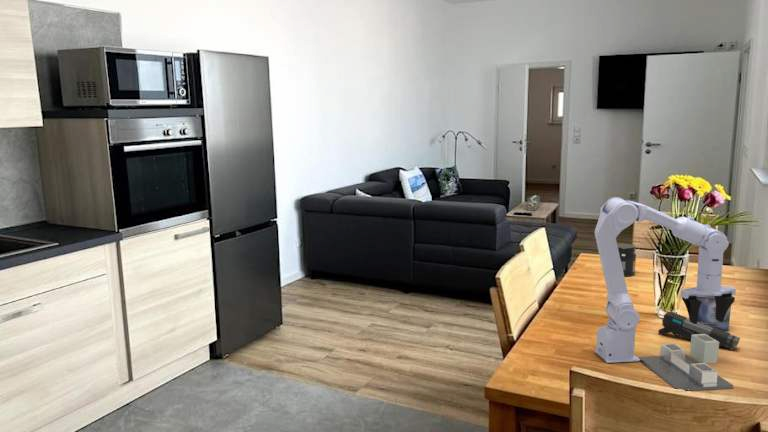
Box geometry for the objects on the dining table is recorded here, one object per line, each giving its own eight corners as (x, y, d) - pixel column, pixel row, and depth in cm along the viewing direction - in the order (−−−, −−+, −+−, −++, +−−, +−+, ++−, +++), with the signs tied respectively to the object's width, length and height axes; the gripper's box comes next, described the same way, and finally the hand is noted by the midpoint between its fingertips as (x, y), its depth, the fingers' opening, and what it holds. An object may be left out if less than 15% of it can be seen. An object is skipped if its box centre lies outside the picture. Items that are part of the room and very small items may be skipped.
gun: (658, 329, 183) (672, 302, 180) (725, 365, 173) (741, 337, 169) (654, 333, 180) (668, 306, 176) (722, 370, 169) (738, 342, 166)
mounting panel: (678, 391, 143) (680, 373, 143) (637, 359, 162) (639, 343, 161) (733, 388, 145) (734, 370, 144) (686, 357, 163) (687, 341, 163)
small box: (690, 328, 185) (693, 296, 183) (688, 321, 191) (690, 290, 190) (729, 332, 182) (732, 299, 180) (725, 325, 188) (728, 293, 186)
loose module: (703, 363, 159) (705, 342, 158) (689, 355, 165) (691, 334, 164) (717, 363, 160) (719, 341, 158) (703, 354, 165) (705, 333, 164)
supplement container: (636, 272, 250) (638, 244, 248) (632, 278, 242) (634, 249, 239) (610, 269, 256) (612, 242, 254) (605, 275, 247) (607, 246, 245)
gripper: (693, 278, 154) (690, 328, 156) (745, 275, 155) (741, 324, 157) (677, 271, 160) (674, 319, 163) (727, 268, 162) (723, 316, 164)
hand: (706, 321), depth 161 cm, fingers open, 7 cm apart
